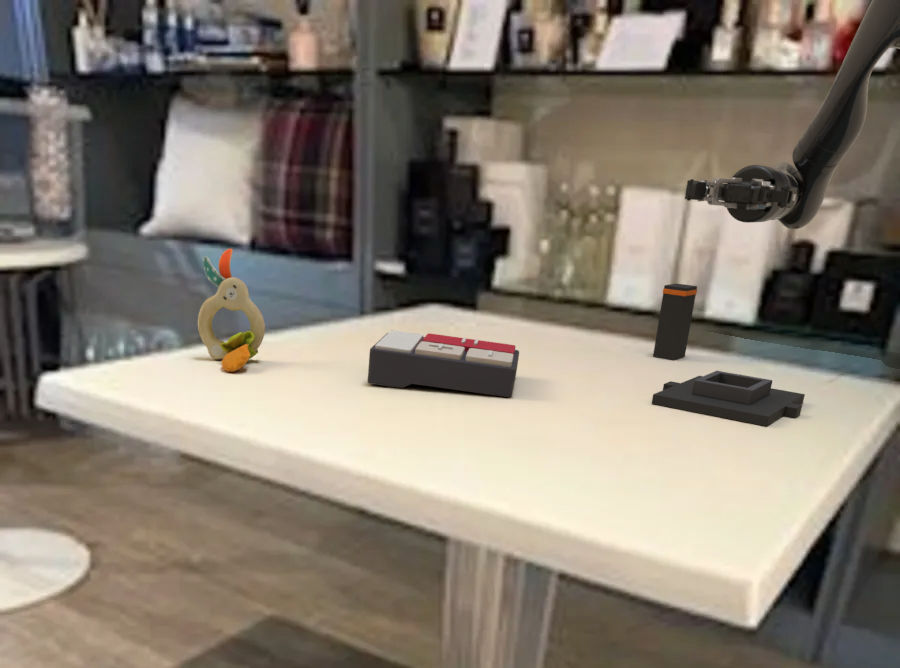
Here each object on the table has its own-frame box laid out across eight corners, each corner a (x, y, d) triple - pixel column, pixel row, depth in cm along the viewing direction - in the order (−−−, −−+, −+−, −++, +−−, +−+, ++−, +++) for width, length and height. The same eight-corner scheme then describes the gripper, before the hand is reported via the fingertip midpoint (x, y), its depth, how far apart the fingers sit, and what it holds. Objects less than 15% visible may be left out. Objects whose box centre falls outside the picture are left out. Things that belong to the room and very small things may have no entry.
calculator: (516, 361, 87) (369, 341, 88) (510, 403, 89) (366, 383, 90) (520, 343, 97) (388, 324, 98) (515, 381, 99) (385, 363, 100)
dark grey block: (663, 352, 119) (675, 283, 115) (685, 356, 118) (698, 286, 114) (652, 356, 116) (663, 285, 112) (674, 360, 114) (686, 288, 111)
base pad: (687, 382, 102) (691, 360, 101) (814, 405, 95) (819, 382, 94) (640, 401, 91) (644, 377, 90) (779, 429, 85) (785, 403, 83)
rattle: (175, 366, 92) (166, 250, 87) (212, 353, 100) (205, 245, 95) (240, 374, 91) (235, 256, 86) (273, 360, 98) (270, 251, 93)
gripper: (717, 163, 130) (678, 158, 118) (815, 168, 123) (784, 164, 111) (707, 218, 133) (668, 218, 121) (802, 226, 127) (771, 228, 114)
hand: (724, 192), depth 116 cm, fingers open, 8 cm apart
